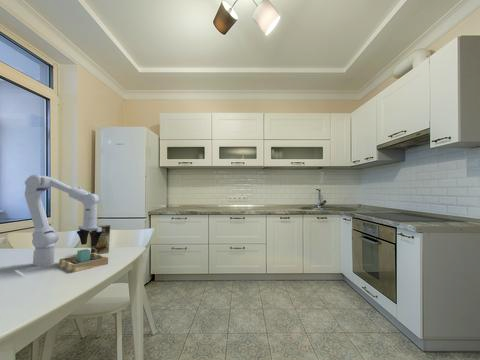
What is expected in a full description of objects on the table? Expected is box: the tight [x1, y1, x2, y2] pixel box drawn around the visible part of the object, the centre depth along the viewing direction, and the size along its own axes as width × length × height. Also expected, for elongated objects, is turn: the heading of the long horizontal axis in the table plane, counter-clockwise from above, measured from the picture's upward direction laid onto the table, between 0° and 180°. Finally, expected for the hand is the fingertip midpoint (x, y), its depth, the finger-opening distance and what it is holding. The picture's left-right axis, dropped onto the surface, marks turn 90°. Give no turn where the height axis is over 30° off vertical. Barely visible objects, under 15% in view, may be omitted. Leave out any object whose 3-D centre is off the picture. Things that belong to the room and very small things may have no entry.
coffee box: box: [90, 224, 111, 255], centre depth 137 cm, size 9×6×16 cm
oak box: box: [58, 252, 109, 274], centre depth 113 cm, size 15×15×4 cm
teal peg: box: [76, 248, 91, 262], centre depth 113 cm, size 4×4×7 cm
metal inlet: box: [70, 257, 97, 264], centre depth 113 cm, size 8×8×2 cm
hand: (89, 245), depth 118 cm, fingers open, 7 cm apart
